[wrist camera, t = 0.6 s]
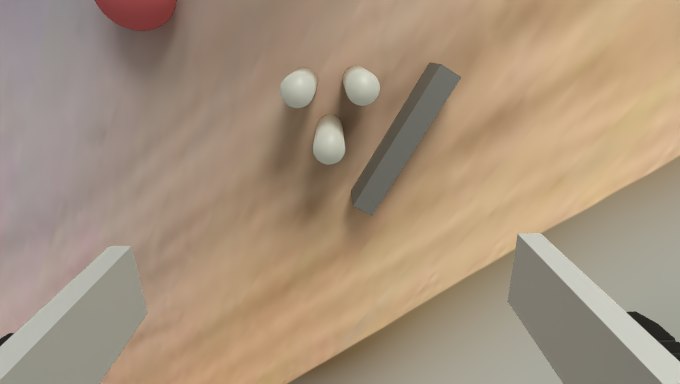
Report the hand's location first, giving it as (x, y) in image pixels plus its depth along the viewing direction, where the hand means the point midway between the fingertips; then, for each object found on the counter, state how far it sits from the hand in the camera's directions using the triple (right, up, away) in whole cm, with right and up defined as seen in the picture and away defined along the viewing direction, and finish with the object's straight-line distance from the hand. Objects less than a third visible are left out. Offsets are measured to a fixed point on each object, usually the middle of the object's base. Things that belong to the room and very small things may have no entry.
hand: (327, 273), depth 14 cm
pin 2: (+2, +13, +22) cm, 26 cm away
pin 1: (-1, +9, +24) cm, 25 cm away
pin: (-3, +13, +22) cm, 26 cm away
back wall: (+6, +8, +24) cm, 26 cm away
